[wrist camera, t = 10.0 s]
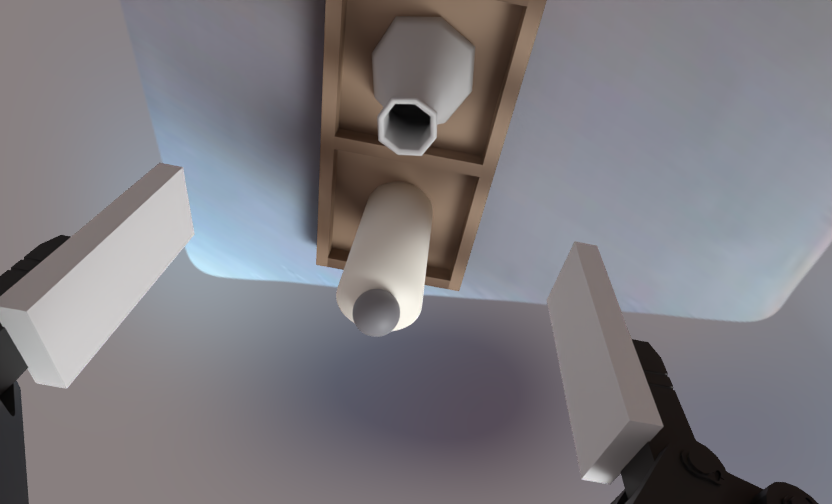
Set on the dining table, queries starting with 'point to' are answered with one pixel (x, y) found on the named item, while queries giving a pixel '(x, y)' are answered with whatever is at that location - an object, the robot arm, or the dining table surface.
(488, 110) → the tray
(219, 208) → the dining table surface
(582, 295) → the robot arm
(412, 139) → the flask
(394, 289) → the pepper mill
